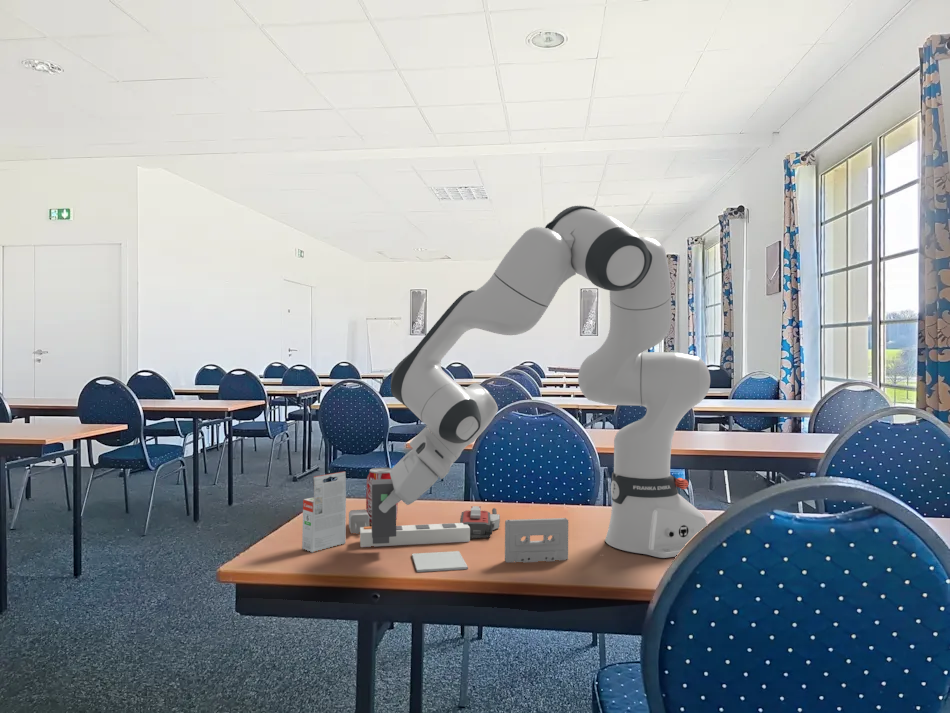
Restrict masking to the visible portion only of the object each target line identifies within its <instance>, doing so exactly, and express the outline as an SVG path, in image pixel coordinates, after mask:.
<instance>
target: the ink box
mask: <svg viewBox="0 0 950 713" xmlns="http://www.w3.org/2000/svg"><path fill="white" fill-rule="evenodd" d="M346 474H347V473H346V471H339V472H333V473H326V474H321V475H315V476H313V479H312V480H313V484H312V485H313V486H312V487H313V497H309V498H304V499H303V500H302V537H301V538H302V539H301V540H302V541H301V543H302V544H301V547H302V548H301V549H302V550H304V549H305V550H304V551H306V550H307V552H309V551H310V552H309V553H315V552H314V551H317V552H319V551H318V550H321V551H323V550H322V549H325V550H327V549H326V548H328V549H331V548H330V547H332V548H334V547H333V546H336V547H338V546H337V545H339V546H342V545H346V526H347V524H346V521H347V520H346V518H347V514H346V513H347V495H346V492H347V491H346V488H347V487H346V485H347V484H346V483H347V482H346V480H347V479H346V478H347V477H346ZM330 477H331V478H333V479H334V478H336V479H335V480H332V481H325V482H324V480H326V479H330ZM341 544H342V545H341Z"/></svg>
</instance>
